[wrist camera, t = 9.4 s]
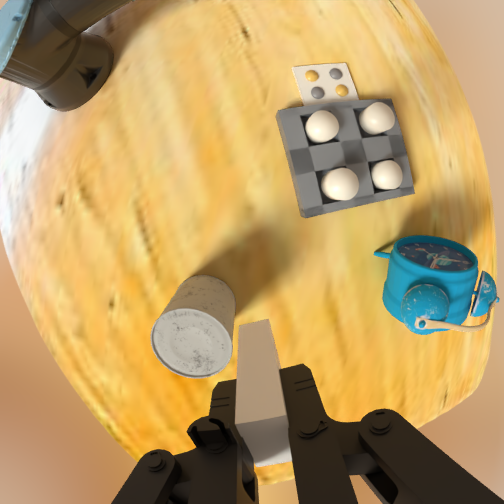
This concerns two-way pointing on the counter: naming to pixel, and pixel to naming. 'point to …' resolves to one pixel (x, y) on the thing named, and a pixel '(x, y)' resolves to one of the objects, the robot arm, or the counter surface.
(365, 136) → the button board
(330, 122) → the button
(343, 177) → the button
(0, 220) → the counter surface
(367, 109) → the button
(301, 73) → the card
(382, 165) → the button
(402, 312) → the alarm clock
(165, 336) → the speckled white tin can
